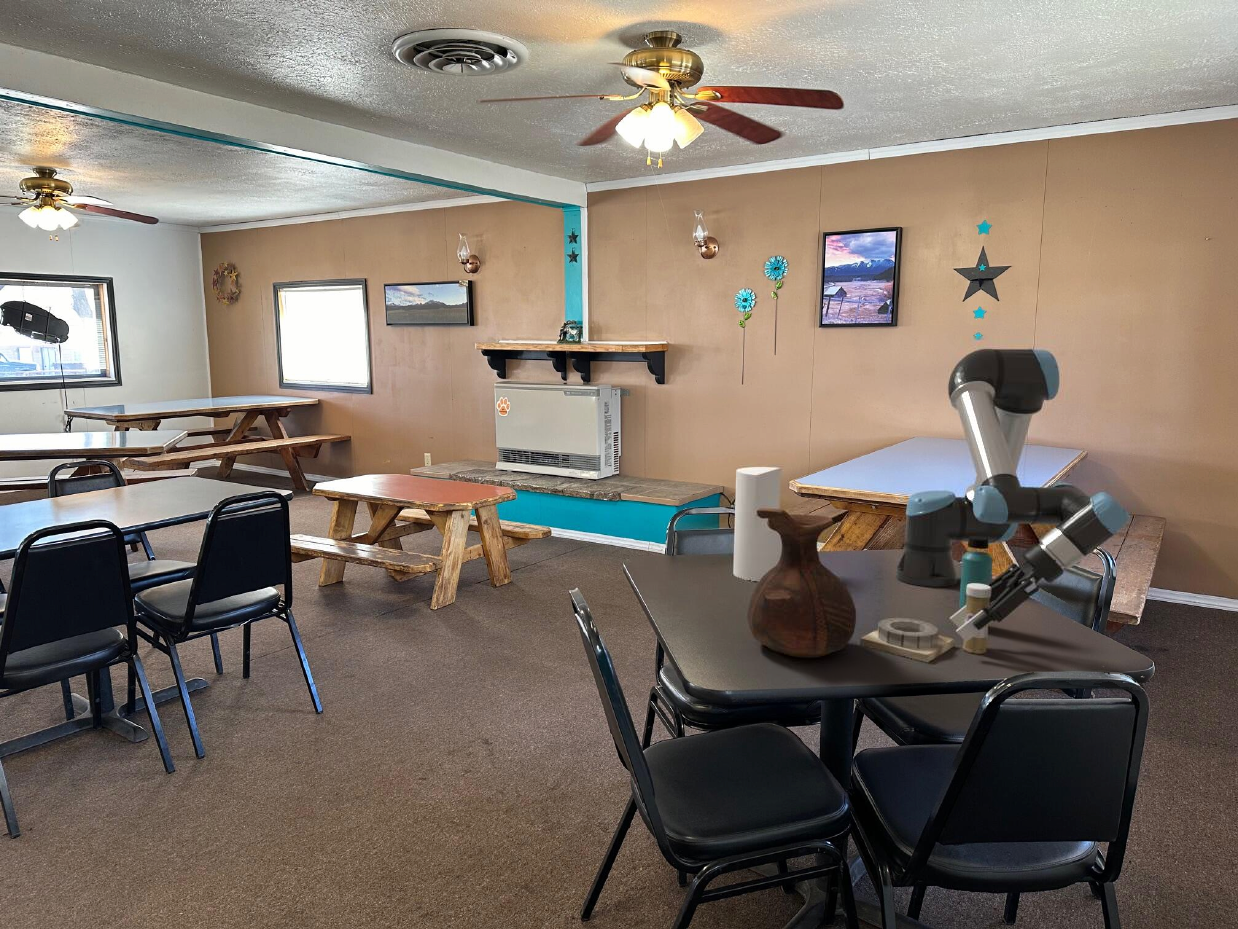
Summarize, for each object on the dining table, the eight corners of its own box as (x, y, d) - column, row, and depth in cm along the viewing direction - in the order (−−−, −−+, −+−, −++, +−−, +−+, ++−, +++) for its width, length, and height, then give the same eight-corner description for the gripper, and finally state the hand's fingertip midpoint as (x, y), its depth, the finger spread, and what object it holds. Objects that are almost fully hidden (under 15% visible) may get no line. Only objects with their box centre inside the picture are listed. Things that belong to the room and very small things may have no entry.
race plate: (888, 630, 181) (889, 612, 181) (953, 646, 172) (955, 627, 171) (859, 645, 172) (860, 626, 171) (926, 662, 162) (928, 642, 162)
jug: (734, 631, 180) (738, 492, 176) (833, 630, 181) (839, 492, 177) (758, 669, 158) (763, 512, 154) (870, 667, 160) (878, 511, 156)
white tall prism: (722, 576, 224) (725, 472, 220) (748, 563, 239) (751, 465, 235) (784, 586, 215) (788, 478, 211) (807, 572, 230) (811, 470, 226)
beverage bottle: (975, 633, 180) (981, 541, 177) (950, 624, 186) (955, 535, 183) (996, 629, 183) (1002, 538, 180) (970, 620, 189) (976, 533, 186)
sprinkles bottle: (959, 651, 169) (963, 585, 167) (966, 645, 173) (971, 581, 171) (982, 656, 166) (987, 590, 165) (990, 650, 170) (994, 585, 168)
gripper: (1080, 584, 154) (980, 661, 160) (1051, 558, 174) (962, 627, 179) (1051, 554, 154) (952, 631, 160) (1025, 531, 174) (937, 601, 180)
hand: (957, 629), depth 170 cm, fingers open, 8 cm apart
